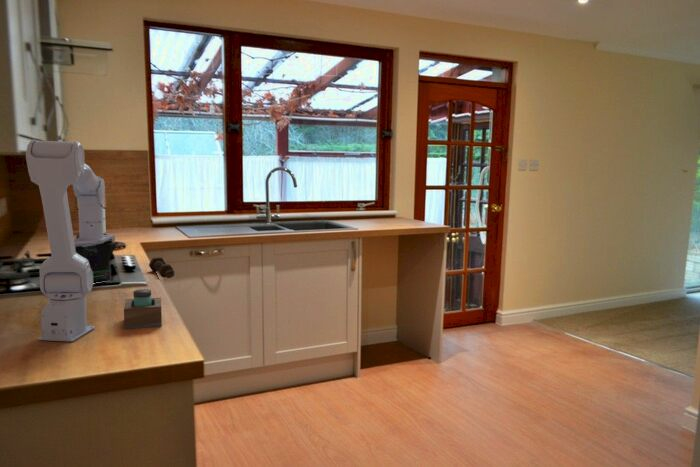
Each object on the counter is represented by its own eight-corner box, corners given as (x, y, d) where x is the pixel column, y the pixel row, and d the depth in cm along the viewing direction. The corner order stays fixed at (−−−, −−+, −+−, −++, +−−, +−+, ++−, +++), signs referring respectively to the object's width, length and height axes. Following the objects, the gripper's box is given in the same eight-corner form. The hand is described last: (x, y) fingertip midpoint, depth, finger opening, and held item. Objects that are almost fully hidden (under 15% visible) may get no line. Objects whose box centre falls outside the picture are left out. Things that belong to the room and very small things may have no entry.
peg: (142, 322, 125) (142, 294, 124) (130, 319, 126) (129, 292, 125) (155, 317, 128) (154, 290, 127) (143, 315, 130) (142, 288, 129)
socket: (161, 326, 125) (161, 306, 124) (124, 329, 122) (123, 309, 121) (161, 316, 133) (160, 297, 132) (126, 318, 130) (125, 299, 129)
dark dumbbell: (167, 285, 172) (154, 274, 184) (180, 276, 174) (166, 266, 186) (159, 271, 170) (146, 261, 181) (172, 262, 172) (158, 253, 183)
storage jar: (74, 279, 167) (72, 234, 165) (106, 276, 173) (105, 232, 171) (81, 286, 159) (80, 239, 157) (115, 282, 166) (113, 236, 163)
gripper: (80, 225, 127) (83, 279, 129) (123, 219, 140) (124, 268, 142) (58, 223, 129) (61, 276, 131) (102, 218, 142) (104, 265, 144)
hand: (92, 271), depth 137 cm, fingers open, 7 cm apart
